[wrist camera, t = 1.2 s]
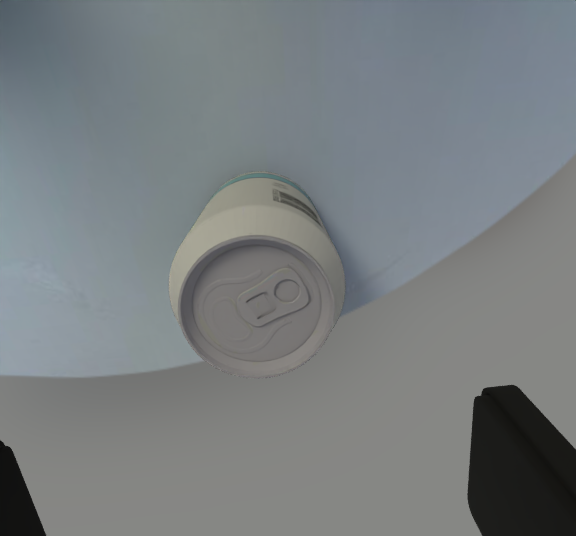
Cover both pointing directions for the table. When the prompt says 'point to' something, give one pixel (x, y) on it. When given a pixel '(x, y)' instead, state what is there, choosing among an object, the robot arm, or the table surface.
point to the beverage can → (257, 278)
